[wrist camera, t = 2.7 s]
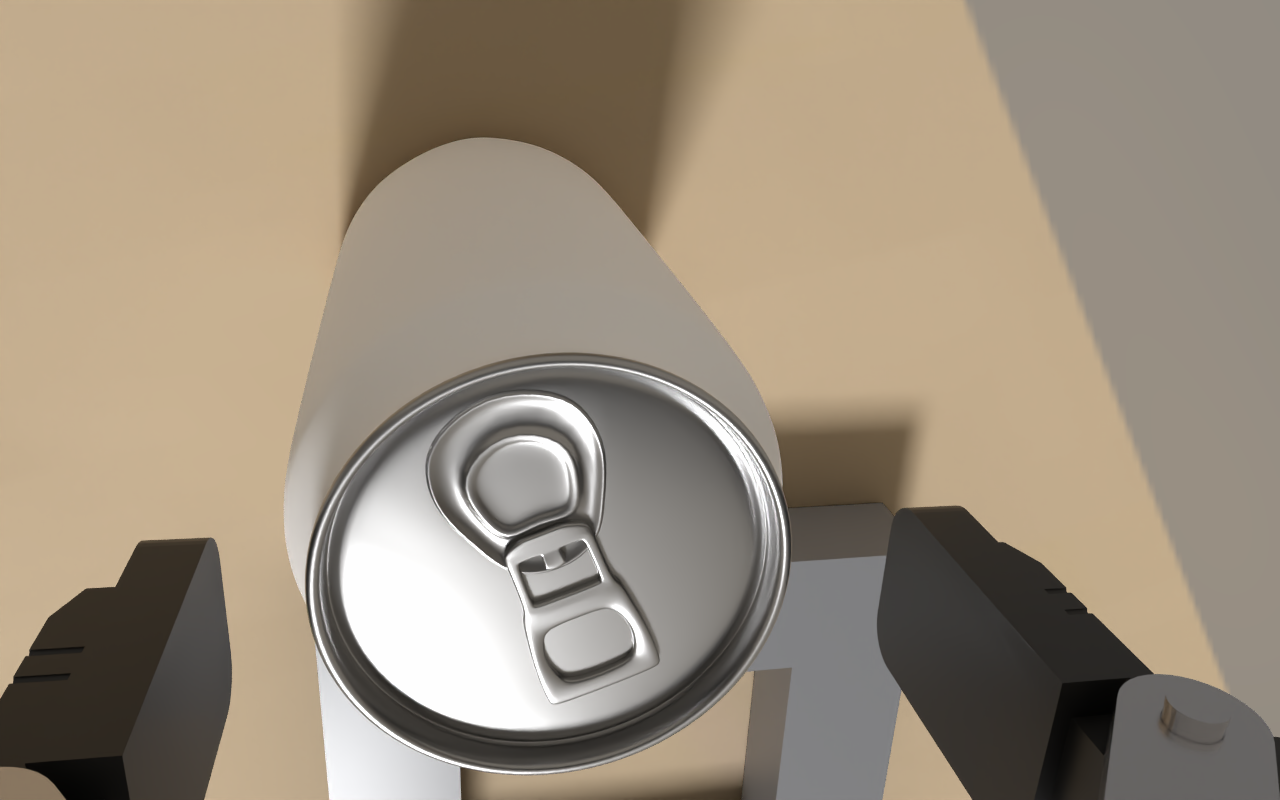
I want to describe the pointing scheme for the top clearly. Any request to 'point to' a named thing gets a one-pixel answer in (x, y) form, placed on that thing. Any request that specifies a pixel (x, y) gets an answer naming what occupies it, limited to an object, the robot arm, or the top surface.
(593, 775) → the top surface
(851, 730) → the socket plate
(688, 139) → the top surface
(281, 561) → the top surface
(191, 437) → the top surface
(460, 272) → the can
